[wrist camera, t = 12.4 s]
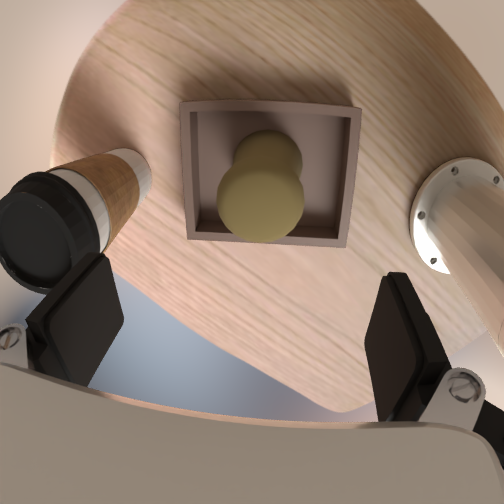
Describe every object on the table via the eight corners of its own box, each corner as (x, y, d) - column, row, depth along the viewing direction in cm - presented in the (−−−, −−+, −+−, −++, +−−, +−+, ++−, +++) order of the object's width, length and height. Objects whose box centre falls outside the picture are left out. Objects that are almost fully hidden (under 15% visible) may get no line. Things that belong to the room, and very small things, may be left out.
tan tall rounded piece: (275, 209, 29) (269, 276, 19) (219, 170, 28) (184, 220, 18) (317, 157, 26) (337, 201, 17) (259, 115, 25) (244, 132, 15)
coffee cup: (87, 137, 27) (-25, 187, 14) (163, 134, 27) (65, 184, 14) (94, 214, 32) (6, 294, 18) (166, 218, 31) (93, 315, 18)
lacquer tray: (353, 106, 24) (361, 108, 22) (340, 233, 30) (345, 248, 28) (190, 100, 25) (179, 102, 23) (195, 225, 31) (187, 239, 29)
